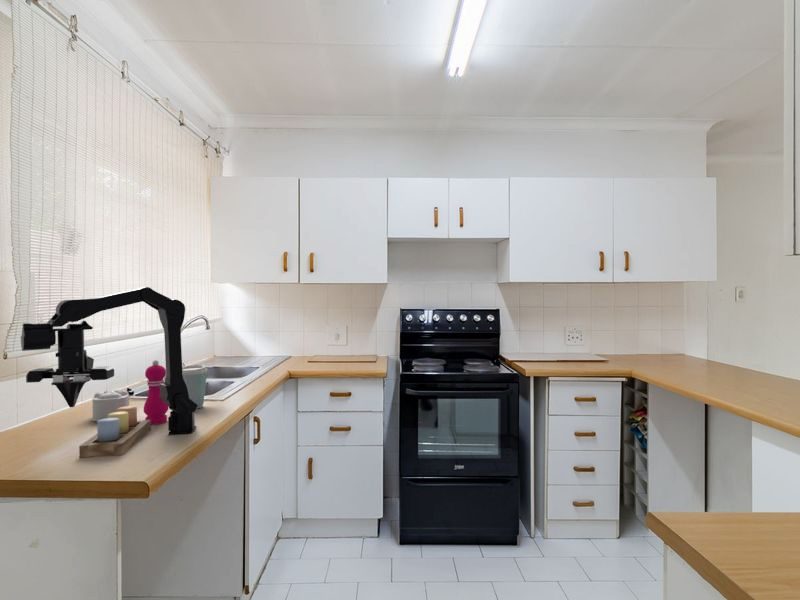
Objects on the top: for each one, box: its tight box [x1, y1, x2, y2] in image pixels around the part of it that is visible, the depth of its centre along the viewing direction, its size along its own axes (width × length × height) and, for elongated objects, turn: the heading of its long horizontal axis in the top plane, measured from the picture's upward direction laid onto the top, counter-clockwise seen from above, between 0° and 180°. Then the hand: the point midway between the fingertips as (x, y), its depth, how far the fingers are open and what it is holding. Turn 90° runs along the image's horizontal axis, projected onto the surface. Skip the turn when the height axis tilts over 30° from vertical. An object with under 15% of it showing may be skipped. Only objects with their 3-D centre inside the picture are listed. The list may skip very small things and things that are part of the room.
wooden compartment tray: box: [78, 419, 152, 458], centre depth 138 cm, size 10×24×3 cm, turn 11°
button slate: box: [96, 418, 119, 442], centre depth 131 cm, size 5×5×5 cm
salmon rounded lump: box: [117, 405, 138, 427], centre depth 144 cm, size 5×5×5 cm
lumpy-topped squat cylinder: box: [92, 388, 130, 422], centre depth 167 cm, size 10×13×9 cm
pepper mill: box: [143, 360, 169, 425], centre depth 159 cm, size 7×7×20 cm
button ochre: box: [108, 412, 129, 434], centre depth 138 cm, size 5×5×5 cm
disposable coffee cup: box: [182, 364, 209, 410], centre depth 179 cm, size 11×11×15 cm
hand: (72, 406), depth 129 cm, fingers closed
